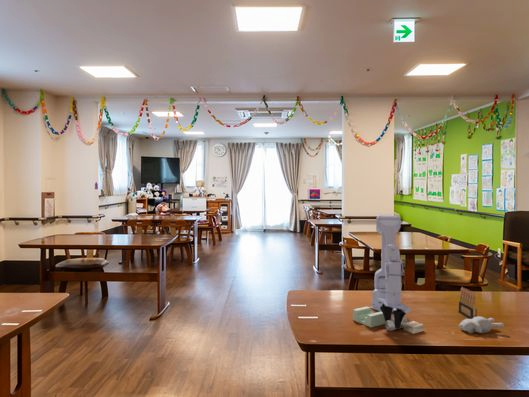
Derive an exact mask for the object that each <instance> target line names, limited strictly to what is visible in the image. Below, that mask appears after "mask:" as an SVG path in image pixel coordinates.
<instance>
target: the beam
mask: <svg viewBox="0 0 529 397" xmlns="http://www.w3.org/2000/svg"><path fill="white" fill-rule="evenodd" d="M391 319H394V314H392V315H391ZM403 331H405V332H408V333H410V334H413V335H414V334H417V333H420V332H423V331H424V324H423V323H420V322H417V321H414V320H411V321H408V323H405V324H404V327H403Z"/></svg>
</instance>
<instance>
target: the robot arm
mask: <svg viewBox="0 0 529 397" xmlns="http://www.w3.org/2000/svg"><path fill="white" fill-rule="evenodd" d="M375 219H376V220H375V224H376V225H375V227H376V228H375V229H376V232H377V233H379V234H380V236H381V249H380V250H381V251H380V252H381V253H380V254H381V255H380V256H381V257H380V258H381V261H380V262H381V264H380V265H381V266H380V268H379V269H378V270H376V271H375V273H374V280H373V283H374V289H373V291H372V292H371V306H370V308H371V310H372V309H373V310H376V311H377V312H382V313H383V315H384V319H385V322H386V321H387V320H391V315H393V314H394V319H395V328H396V330H398V329H397V328H399V329H401V328H400V326H401V322H402V319H403V317H405V315H407V314H409V313H411V307H410V306H408V305H405V304H403V303H402V276H403V275H404V264H403V260H402V258H401V253H400V248H399V246H398V245H396V244H397V243H396V242H397V240H396V235H397V233H398V232H399V231H400V229H401V226H402V224H401V223H402V222H401V221H402V220H401V216H400V215H398V214H397V215H386V214H385V215H381V214H377V216H376V218H375ZM392 313H393V314H392Z"/></svg>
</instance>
